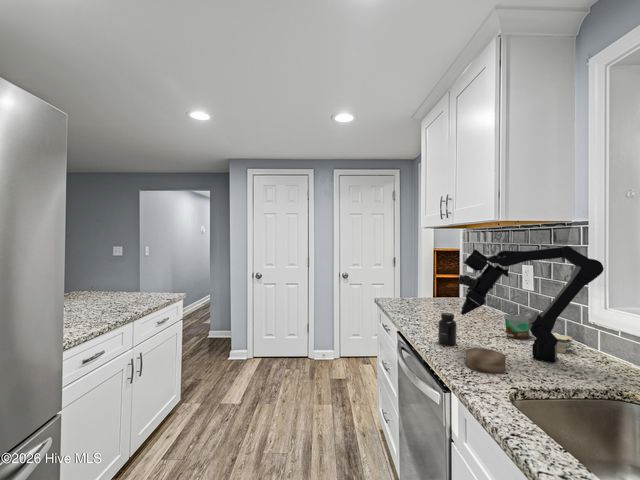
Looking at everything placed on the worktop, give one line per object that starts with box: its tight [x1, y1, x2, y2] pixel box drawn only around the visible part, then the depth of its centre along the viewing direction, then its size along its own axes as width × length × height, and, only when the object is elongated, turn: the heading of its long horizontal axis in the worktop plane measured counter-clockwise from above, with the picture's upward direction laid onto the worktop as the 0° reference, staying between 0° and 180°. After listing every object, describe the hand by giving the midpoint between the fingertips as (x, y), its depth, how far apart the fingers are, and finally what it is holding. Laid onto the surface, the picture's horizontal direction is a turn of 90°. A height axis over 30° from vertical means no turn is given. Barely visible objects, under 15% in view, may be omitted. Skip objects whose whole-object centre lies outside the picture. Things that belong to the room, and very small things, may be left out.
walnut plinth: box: [464, 347, 507, 374], centre depth 113 cm, size 12×12×4 cm
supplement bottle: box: [437, 312, 458, 347], centre depth 137 cm, size 7×7×12 cm
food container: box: [503, 312, 532, 340], centre depth 145 cm, size 12×6×10 cm, turn 105°
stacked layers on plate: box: [554, 334, 573, 354], centre depth 128 cm, size 10×9×6 cm
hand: (462, 311), depth 131 cm, fingers open, 9 cm apart
